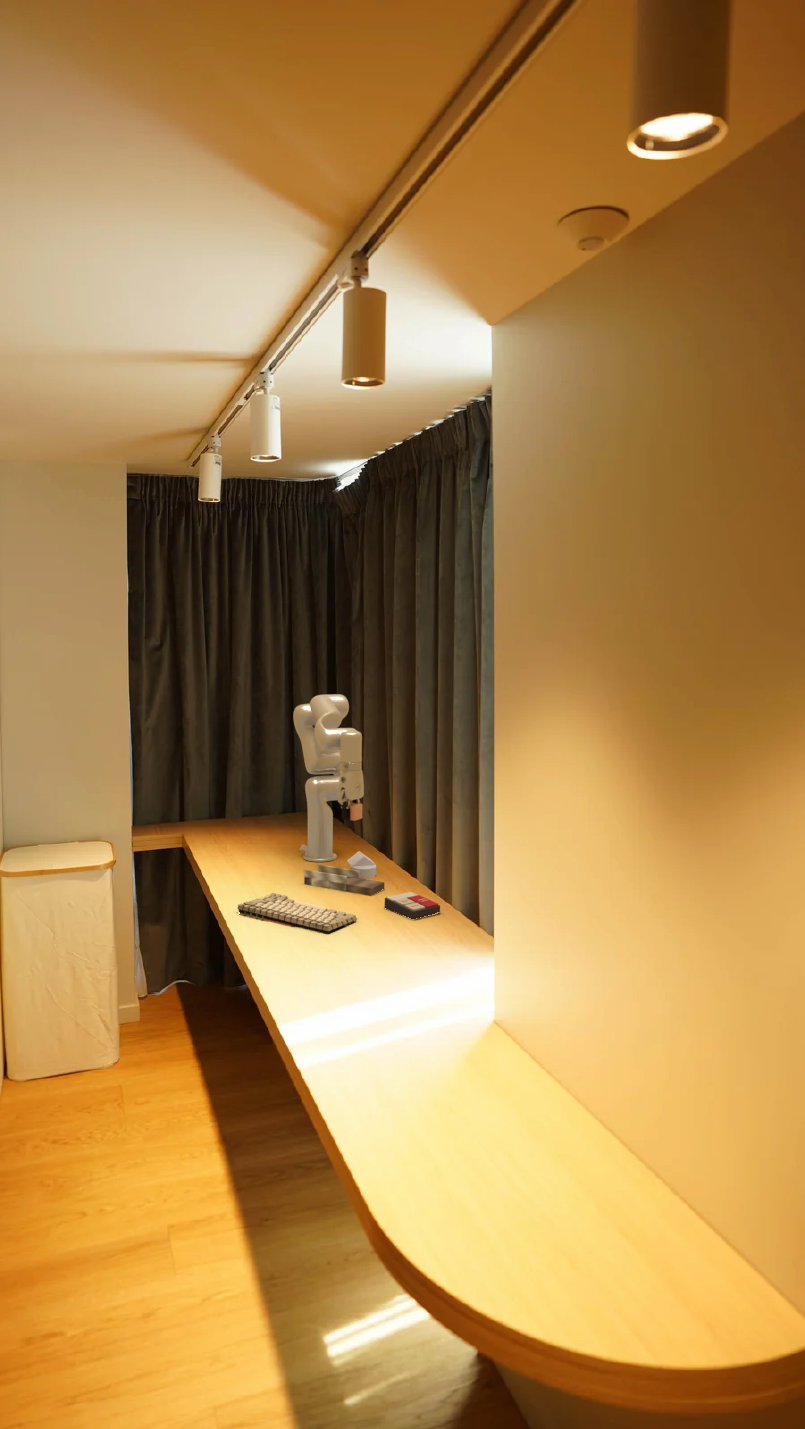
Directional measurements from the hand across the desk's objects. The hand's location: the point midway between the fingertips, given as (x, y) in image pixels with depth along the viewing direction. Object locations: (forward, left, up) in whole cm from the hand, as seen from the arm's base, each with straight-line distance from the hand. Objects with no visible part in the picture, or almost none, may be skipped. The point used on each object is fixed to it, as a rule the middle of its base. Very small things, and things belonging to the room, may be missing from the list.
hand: (350, 817), depth 336 cm
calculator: (+35, -20, -23) cm, 47 cm away
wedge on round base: (-1, +10, -23) cm, 25 cm away
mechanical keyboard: (+7, -43, -23) cm, 49 cm away
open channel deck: (+2, -8, -22) cm, 24 cm away
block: (+1, 0, 0) cm, 1 cm away
